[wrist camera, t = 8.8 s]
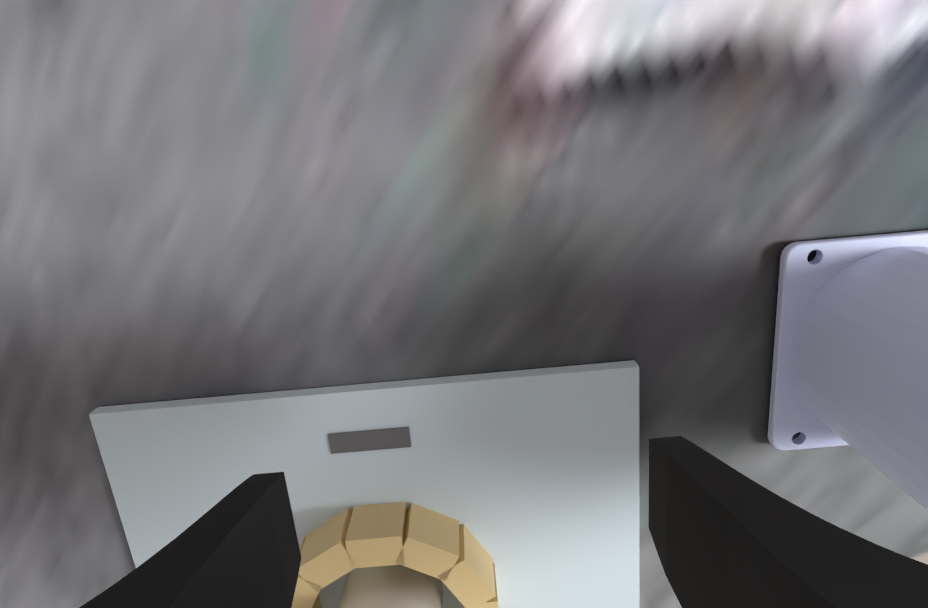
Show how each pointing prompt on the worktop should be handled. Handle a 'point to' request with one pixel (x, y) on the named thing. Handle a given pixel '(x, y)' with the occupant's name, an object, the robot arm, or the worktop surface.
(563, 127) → the worktop surface
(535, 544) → the plate
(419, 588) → the tube
